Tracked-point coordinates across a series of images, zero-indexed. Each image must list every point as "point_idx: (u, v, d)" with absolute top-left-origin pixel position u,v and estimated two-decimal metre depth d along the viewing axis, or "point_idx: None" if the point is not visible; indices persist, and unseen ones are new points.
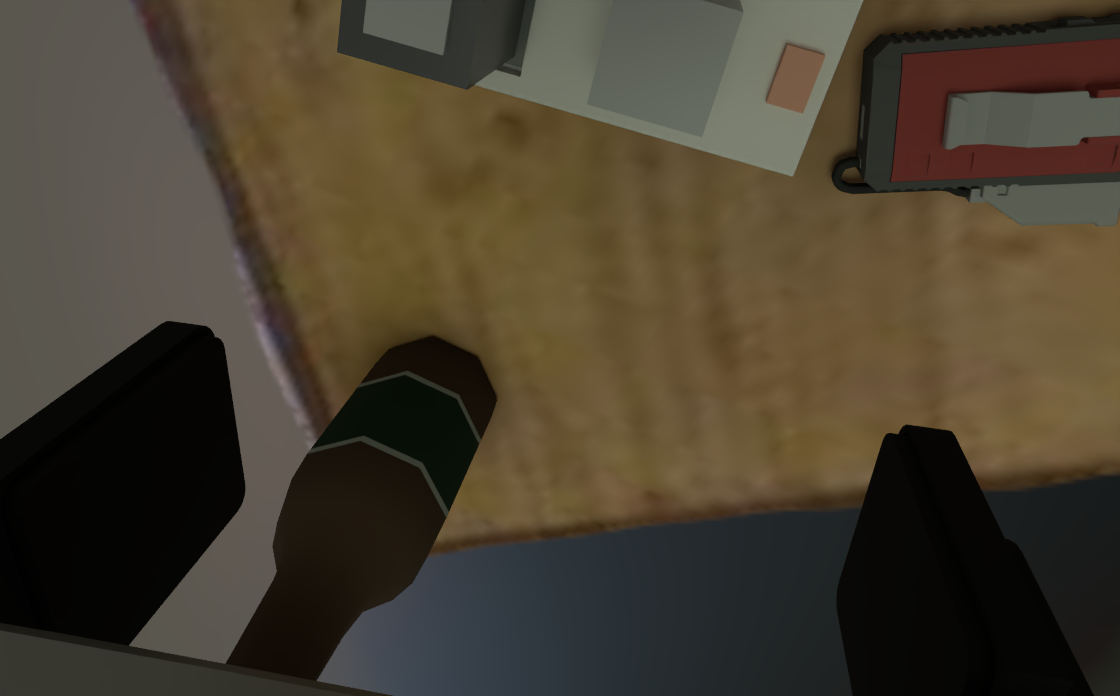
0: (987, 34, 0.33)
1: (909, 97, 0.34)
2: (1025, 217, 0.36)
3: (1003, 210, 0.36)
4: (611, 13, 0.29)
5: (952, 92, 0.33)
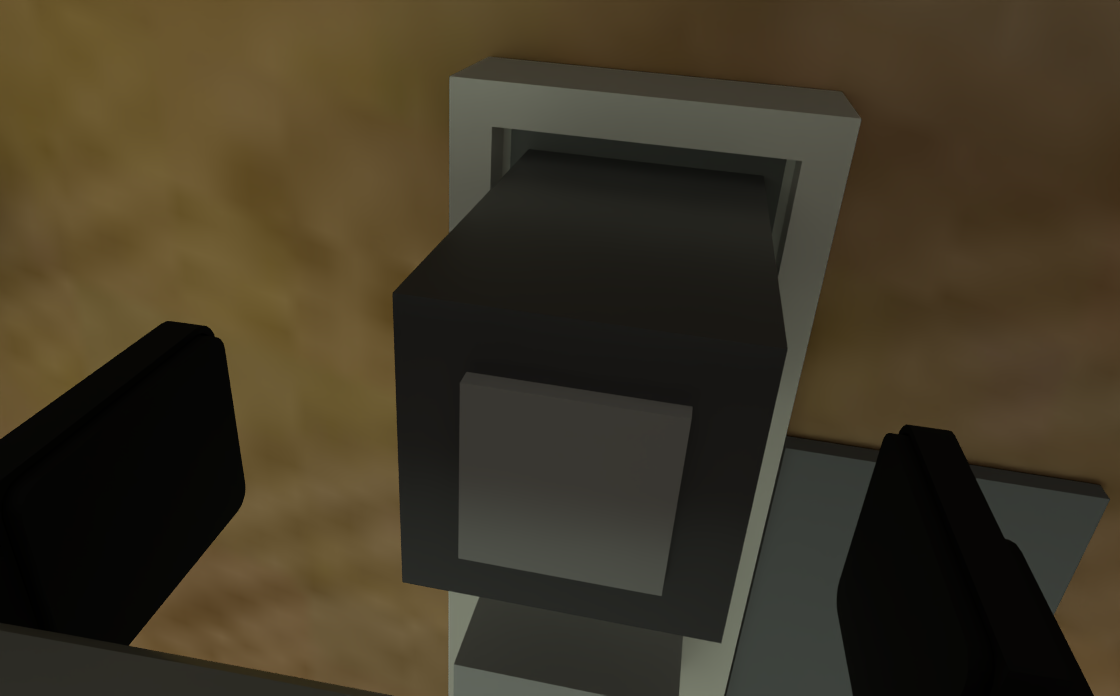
0: None
1: None
2: None
3: None
4: None
5: None
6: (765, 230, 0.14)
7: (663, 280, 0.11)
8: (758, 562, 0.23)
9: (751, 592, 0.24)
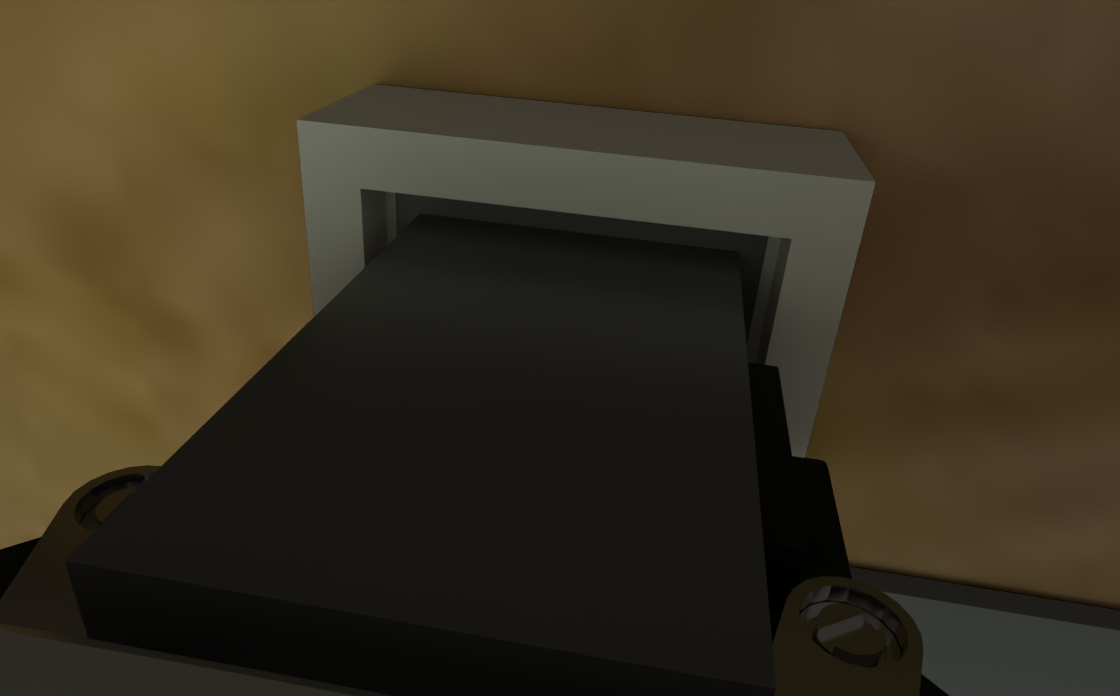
0: None
1: None
2: None
3: None
4: None
5: None
6: (740, 362, 0.09)
7: (567, 494, 0.07)
8: None
9: None
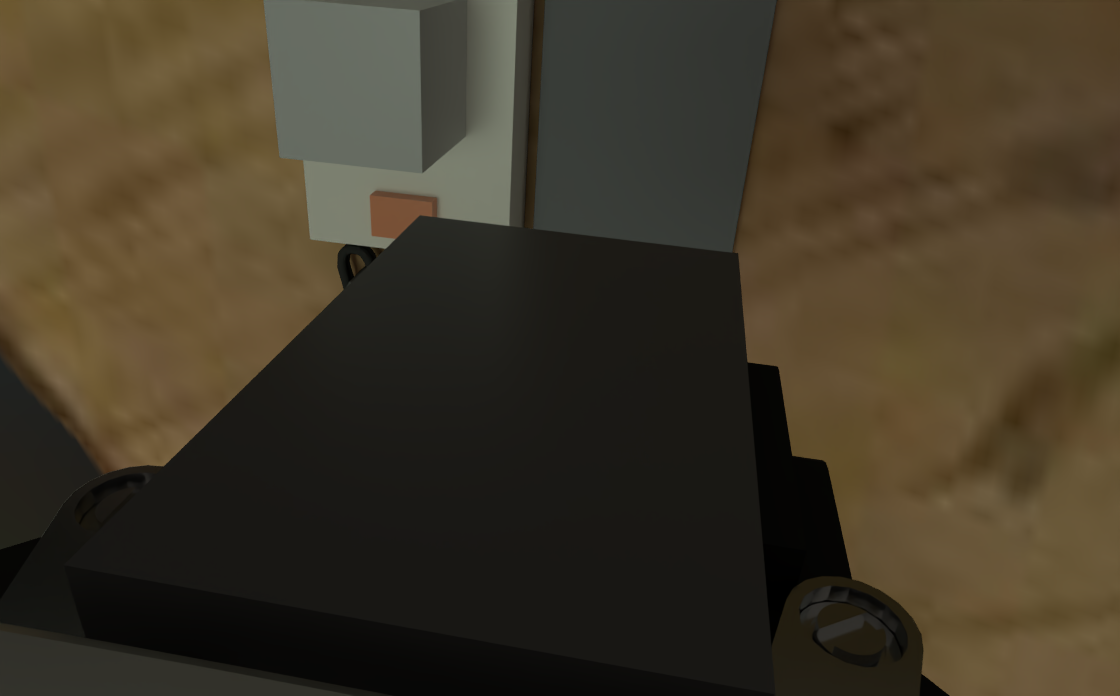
0: None
1: None
2: None
3: None
4: (376, 9, 0.22)
5: None
6: (740, 364, 0.09)
7: (565, 497, 0.07)
8: (542, 66, 0.30)
9: (540, 98, 0.30)
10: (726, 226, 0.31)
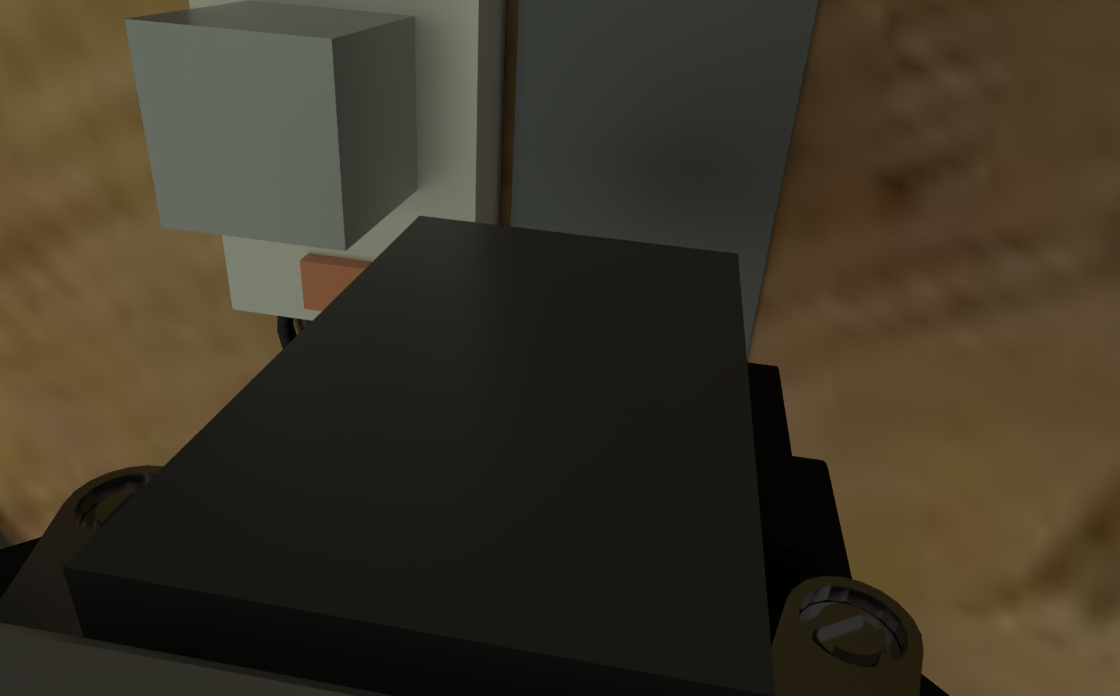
0: None
1: None
2: None
3: None
4: (274, 36, 0.16)
5: None
6: (739, 365, 0.09)
7: (565, 498, 0.07)
8: (515, 100, 0.24)
9: (514, 139, 0.24)
10: (745, 298, 0.25)
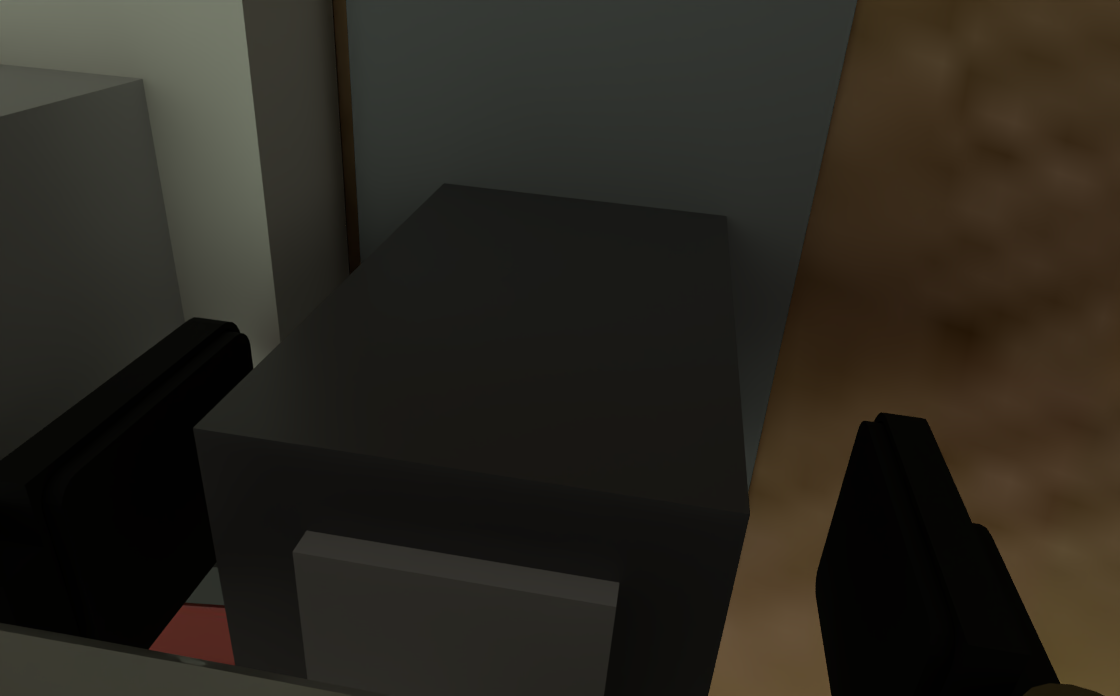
0: None
1: (216, 620, 0.17)
2: None
3: None
4: None
5: None
6: (726, 299, 0.11)
7: (585, 390, 0.08)
8: (358, 200, 0.15)
9: (362, 259, 0.15)
10: None
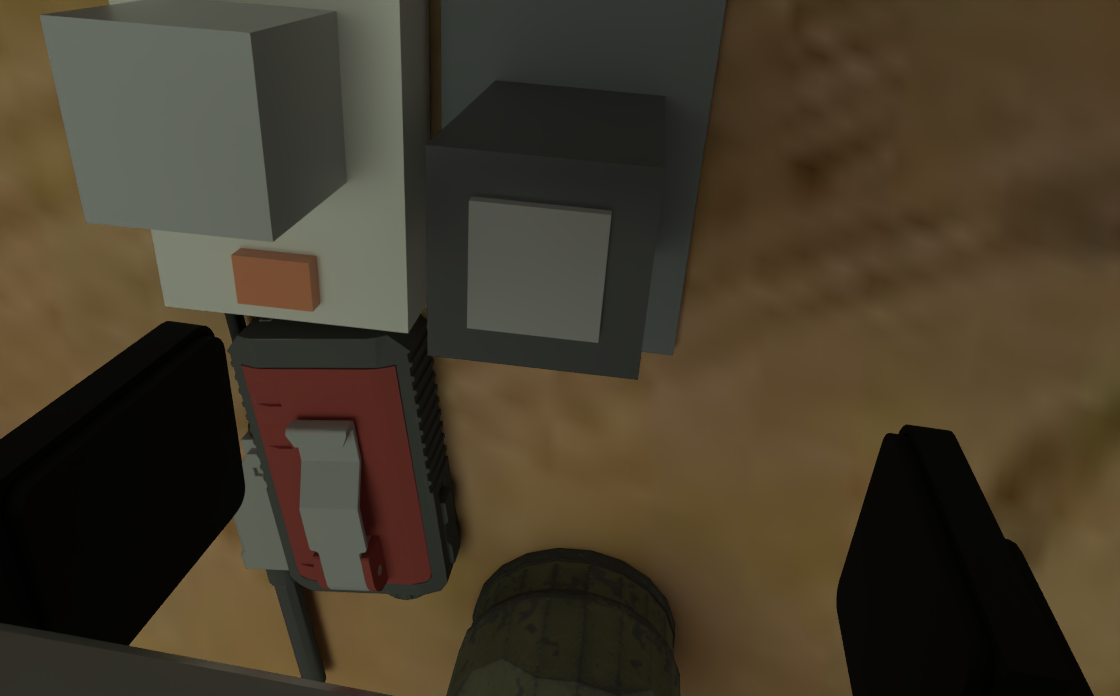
0: (425, 442, 0.28)
1: (344, 379, 0.27)
2: None
3: None
4: (193, 30, 0.17)
5: (356, 422, 0.27)
6: (661, 121, 0.20)
7: (592, 142, 0.18)
8: (442, 93, 0.24)
9: None
10: (672, 281, 0.26)
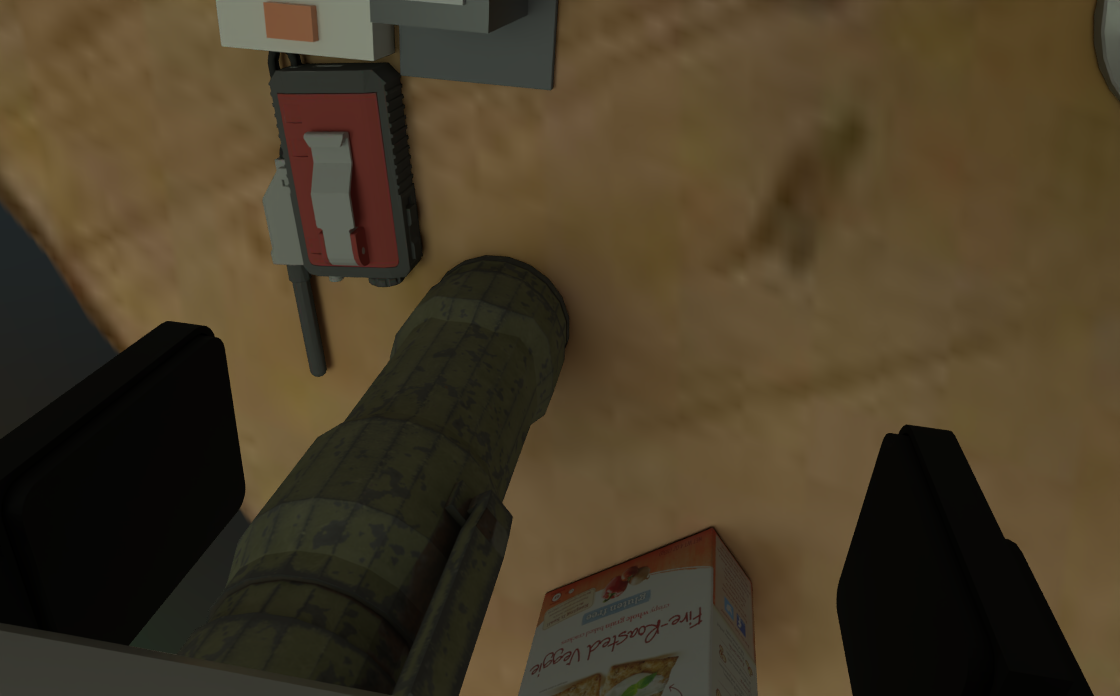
0: (395, 155, 0.42)
1: (343, 101, 0.41)
2: (268, 202, 0.45)
3: (271, 185, 0.45)
4: None
5: (350, 134, 0.42)
6: None
7: None
8: None
9: None
10: (546, 33, 0.40)
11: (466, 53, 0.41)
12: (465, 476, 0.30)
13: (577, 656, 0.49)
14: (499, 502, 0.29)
